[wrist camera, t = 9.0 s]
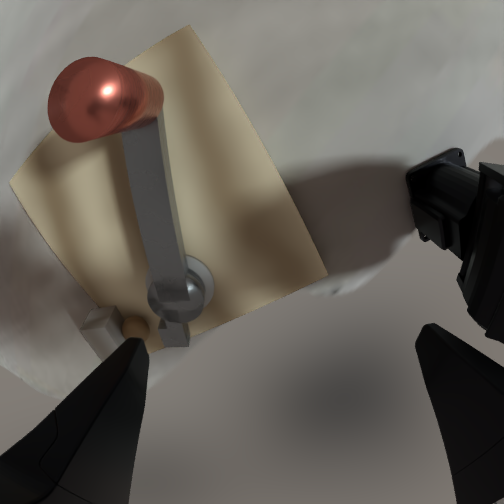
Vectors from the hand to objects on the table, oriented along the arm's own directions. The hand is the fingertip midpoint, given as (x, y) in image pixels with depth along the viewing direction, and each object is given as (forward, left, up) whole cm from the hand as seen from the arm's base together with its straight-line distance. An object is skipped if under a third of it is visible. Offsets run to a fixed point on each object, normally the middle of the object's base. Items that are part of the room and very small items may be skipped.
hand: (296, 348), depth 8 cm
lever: (+6, -3, -11) cm, 13 cm away
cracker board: (+8, -3, -13) cm, 16 cm away
